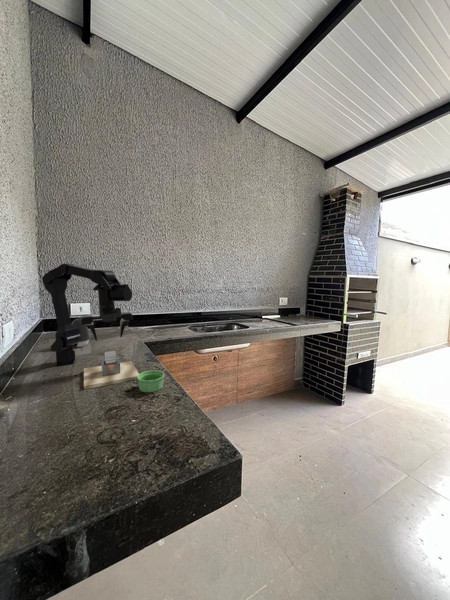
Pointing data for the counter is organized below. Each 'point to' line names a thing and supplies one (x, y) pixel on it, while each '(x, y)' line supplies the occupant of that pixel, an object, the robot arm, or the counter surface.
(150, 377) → the ramekin
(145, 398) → the counter surface
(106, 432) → the counter surface
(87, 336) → the pump dispenser
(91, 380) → the base
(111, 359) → the steel post
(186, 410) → the counter surface
